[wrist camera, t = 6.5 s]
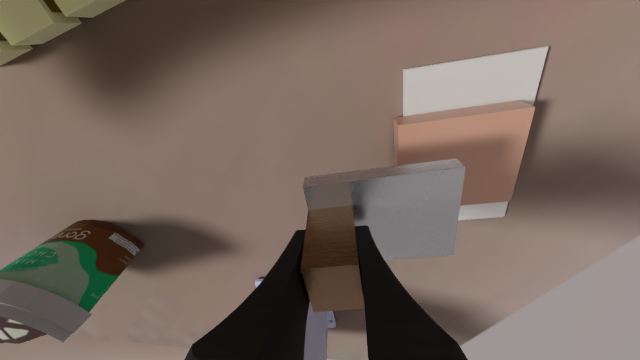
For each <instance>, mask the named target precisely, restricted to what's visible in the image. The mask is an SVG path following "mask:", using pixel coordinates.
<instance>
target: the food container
mask: <svg viewBox="0 0 640 360" xmlns="http://www.w3.org/2000/svg"><path fill="white" fill-rule="evenodd" d="M143 246H144V244H143V243H142V242H141V241H140V240H139V239H138V238H136V237H135V236H133V235H132V234H130V233H129V232H127V231H125V230H124V229H122V228H119V227H117V226H114V225H112V224H109V223H106V222H101V221H96V220H82V221H78V222H76V223H74V224H72V225H71V226H69V227H67V228H66V229H64V230H63V231H61V232H59V233H58V234H56V235H55V236H53V237H52V238H50V239H48V240H47V241H45V242H44V243H42V244H41V245H39V246H37V247H36V248H34V249H33V250H31V251H29V252H28V253H26V254H25V255H23V256H22V257H20V258H18V259H17V260H15V261H14V262H12V263H11V264H9V265H7V266H6V267H4V268H3V269H1V270H0V343H4V342H7V343H22V342H26V341H29V340H31V339H34V338H37V337H39V336H43V335H46V334H48V335H50V336H52V337H54V338H56V339H57V340H59V341H61V342H64V341H65V340H66V339H67V338H68V337H69V336H70V335H71V333H74V332H75V331H76V330H77V329H78V328H79V327H80V326H81V325H82V324H83V323H84V322H85V321H86V320H87V319H88V318H89V317H90V316H91V315H92V314H90V313H89V312H90V310H91V309H92V308H93V307H94V305H95V304H96V303H97V302H98V301H99V299H100V298H101V297H102V296H103V295H104V293H105V292H106V291H107V290H108V289H109V287H110V286H111V285H112V284H113V282H114V281H115V280H116V279H117V278H118V276H119V275H120V274H121V273H122V272H123V270H124V269H125V268H126V267H127V266H128V264H129V263H130V262H131V261H132V260H133V258H134V257H135V256H136V255H137V253H138V252H139V251H140V250H141V249H142V247H143Z"/></svg>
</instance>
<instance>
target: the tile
mask: <svg viewBox="0 0 640 360" xmlns="http://www.w3.org/2000/svg"><path fill="white" fill-rule="evenodd" d="M534 111H535V107H534V106H532V105H530V104H527V103H525V102H522V101H520V100H519V101H512V102H504V103H497V104H490V105H483V106H476V107H468V108H461V109H454V110H447V111H440V112H432V113H425V114H418V115H411V116H404V117H396V118H394V148H395V166H400V165H408V164H416V163H424V162H432V161H441V160H449V159H458V160H459V161H460V162H461V163H462V164H463V165H464V166H465V175H464V182H463V189H462V196H461V203H460V206H462V205H473V204H485V203H497V202H509V201H511V199H512V195H513V191H514V188H515V184H516V180H517V176H518V172H519V169H520V165H521V161H522V157H523V153H524V149H525V146H526V142H527V138H528V134H529V130H530V126H531V123H532V119H533V115H534Z"/></svg>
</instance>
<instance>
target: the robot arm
mask: <svg viewBox="0 0 640 360" xmlns="http://www.w3.org/2000/svg"><path fill="white" fill-rule="evenodd" d="M305 231H306V230H297V231H296V232H295V233H294V235H293V237H292V239H291V240H290V242H289V244H288V245H287V247H286V248H285V250H284V252H283V253H282V255H281V256H280V258H279V259H278V261H277V262H276V263H275V265H274V266H273V267H272V269H271V270H270V272H269V273H268V274H267V276H266V277H265V278H264V279H257V280H256V282H255V285H256V287H257V288H256V289H255V290H254V291H253V292H252V293H251V294H250V295H249V296H248V297H247V298H246V300H245V301H244V302H243V303H242V304H241V305H240V306H239V307H238V308H237V309H235V310H234V311H233V312H232V313H231V314H230V315H229V316H228V317H227V318H225V319H224V320H223V321H222V322H221V323H220V324H219V325H217V326H216V327H215V328H214V329H212V330H211V331H210V332H208V333H207V334H206V335H205V336H203V337H202V338H201V339H199V340H198V341H197V342H195V343H194V344H193V345H192V347H191V348H190V350H189V352H188V354H187V356H186V358H185V360H326V357H327V336H328V328H334V327H336V322H335V317H334V313H333V311H323V312H313V309H312V306H311V303H310V299H309V296H308V293H307V289H306V286H305V283H304V280H303V276H302V273H301V270H300V269H301V261H302V254H303V246H304V239H305ZM355 235H356V237H355V239H356V244H357V252H358V260H359V268H360V276H361V284H362V290H363V295H364V302H365V316H366V331H367V346H368V359H369V360H467V358H466V356H465V355H464V353H463V351H462V350H461V348H460V346H459V345H458V343H457V342H456V341H455V340H454V339H453V338H452V337H451V336H449V335H448V334H447V333H446V332H445V331H444V330H443V329H442V328H441V327H440V326H439V325H438V324H437V323H436V322H435V321H434V320H433V319H432V318H431V317H430V316H429V315H428V314H427V313H426V312H425V311H424V310H423V309H422V308H421V307H420V306H419V305H418V304H417V302H416V301H415V300H414V299H413V298H412V297H411V296H410V295H409V293H408V292H407V291H406V290H405V288H404V287H403V286H402V285H401V283H400V282H399V281H398V279H397V278H396V277H395V275H394V274H393V272H392V271H391V269H390V268H389V266H388V265H387V263H386V262H385V260H384V259H383V257H382V255H381V253H380V251H379V250H378V248H377V246H376V244H375V242H374V240H373V237H372V235H371V232H370V229H369V227H368V226H367V225H363V226H355Z"/></svg>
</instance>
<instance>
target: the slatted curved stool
mask: <svg viewBox="0 0 640 360" xmlns="http://www.w3.org/2000/svg"><path fill="white" fill-rule="evenodd" d="M124 1H126V0H0V66H1V65H3V64H5V63H7V62H9V61H11V60H13V59H15V58H17V57H19V56H21V55H22V54H24V53H26V52H28V51H30V50H32V49H33V48H32V47H31V46H30V45H35V44H43V43H45V42H47V41H49V40H51V39H53V38H55V37H57V36H59V35H61V34H63V33H64V32H66V31H68V30H70V29H72V28H74V27H76V26H78V25H80V24H82V22H81V21H80V20H79V18H78V17H87V18H93V17H95V16H97V15H99V14H101V13H103V12H105V11H106V10H108V9H110V8H112V7H114V6H116V5H118V4H120V3H122V2H124Z"/></svg>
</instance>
